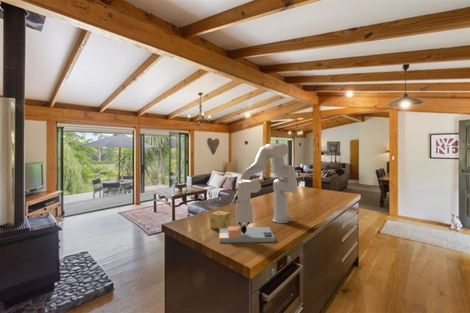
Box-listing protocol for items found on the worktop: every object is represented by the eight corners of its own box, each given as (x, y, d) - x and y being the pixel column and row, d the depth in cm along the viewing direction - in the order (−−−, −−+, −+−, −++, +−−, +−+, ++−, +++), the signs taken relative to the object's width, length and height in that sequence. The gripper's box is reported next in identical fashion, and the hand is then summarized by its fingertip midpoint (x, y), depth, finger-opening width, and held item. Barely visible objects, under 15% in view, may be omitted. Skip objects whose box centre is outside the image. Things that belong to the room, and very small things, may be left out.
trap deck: (268, 230, 152) (268, 227, 152) (274, 241, 134) (274, 237, 134) (219, 231, 151) (219, 227, 150) (219, 242, 133) (219, 238, 133)
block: (239, 233, 140) (239, 226, 140) (241, 237, 133) (241, 229, 133) (227, 233, 139) (227, 226, 139) (228, 238, 132) (228, 230, 132)
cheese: (222, 230, 152) (222, 215, 152) (209, 227, 158) (209, 213, 158) (230, 226, 161) (230, 212, 161) (218, 223, 167) (218, 210, 167)
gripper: (231, 203, 133) (231, 235, 134) (257, 203, 134) (257, 235, 135) (231, 200, 141) (231, 231, 141) (255, 200, 142) (255, 230, 142)
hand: (243, 232), depth 138 cm, fingers closed
